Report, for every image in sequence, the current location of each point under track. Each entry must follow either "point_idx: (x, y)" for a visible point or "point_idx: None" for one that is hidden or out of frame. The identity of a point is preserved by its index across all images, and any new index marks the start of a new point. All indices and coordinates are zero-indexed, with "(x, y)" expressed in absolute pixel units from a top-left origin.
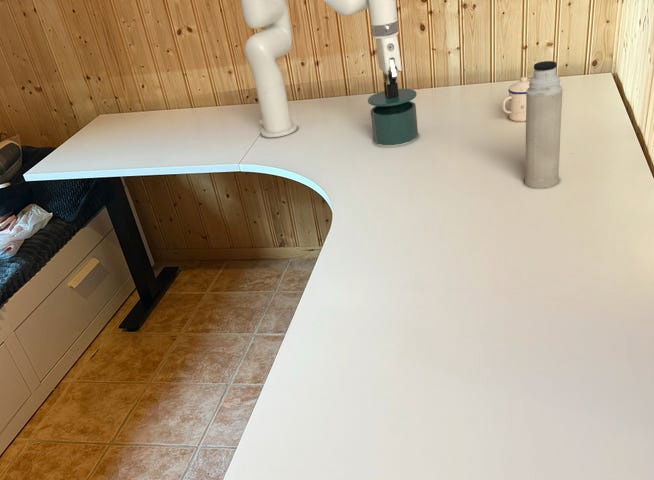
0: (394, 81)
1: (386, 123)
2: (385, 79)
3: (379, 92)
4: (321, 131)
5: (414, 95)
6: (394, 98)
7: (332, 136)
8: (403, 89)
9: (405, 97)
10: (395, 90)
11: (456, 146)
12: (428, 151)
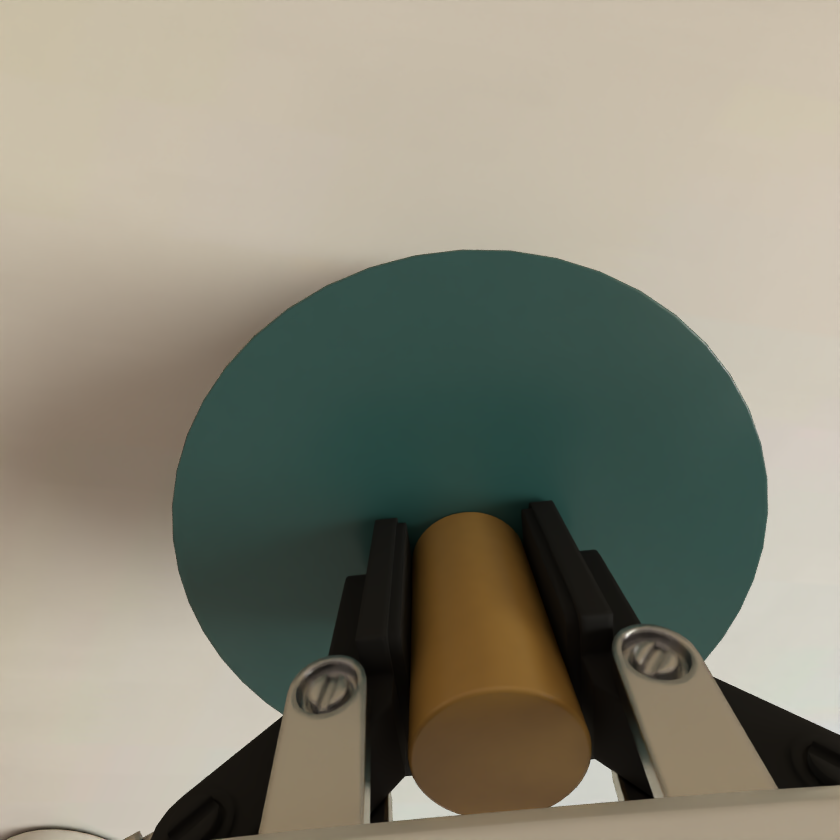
0: (755, 718)
1: None
2: (387, 790)
3: (235, 659)
4: (139, 739)
5: (635, 298)
6: (581, 545)
7: (239, 699)
8: (251, 401)
9: (637, 424)
10: (611, 584)
11: (827, 22)
12: (781, 244)
